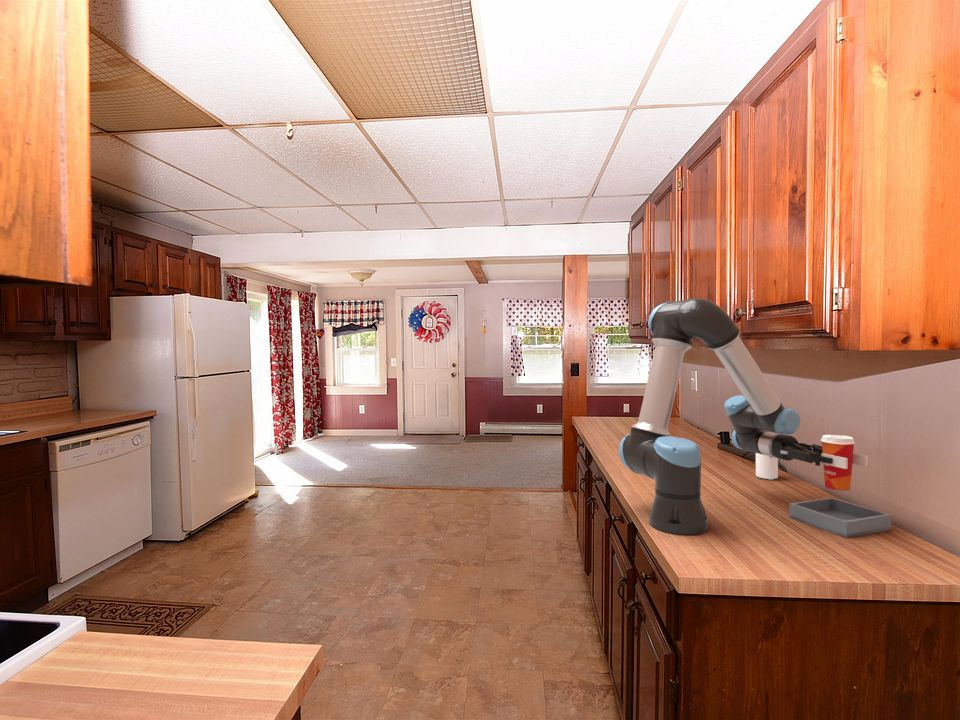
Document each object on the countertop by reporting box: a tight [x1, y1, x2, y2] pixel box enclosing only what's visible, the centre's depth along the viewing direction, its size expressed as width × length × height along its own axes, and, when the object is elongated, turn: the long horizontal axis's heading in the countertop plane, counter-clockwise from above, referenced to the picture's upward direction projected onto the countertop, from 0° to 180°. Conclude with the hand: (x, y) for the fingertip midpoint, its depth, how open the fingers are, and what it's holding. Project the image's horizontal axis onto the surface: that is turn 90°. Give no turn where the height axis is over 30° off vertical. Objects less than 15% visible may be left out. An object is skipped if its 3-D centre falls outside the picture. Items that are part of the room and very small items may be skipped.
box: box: [788, 497, 892, 539], centre depth 134 cm, size 16×16×4 cm
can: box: [755, 453, 779, 481], centre depth 180 cm, size 7×7×12 cm
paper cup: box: [820, 434, 856, 492], centre depth 134 cm, size 8×8×14 cm
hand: (856, 462), depth 129 cm, fingers closed on paper cup, 7 cm apart
